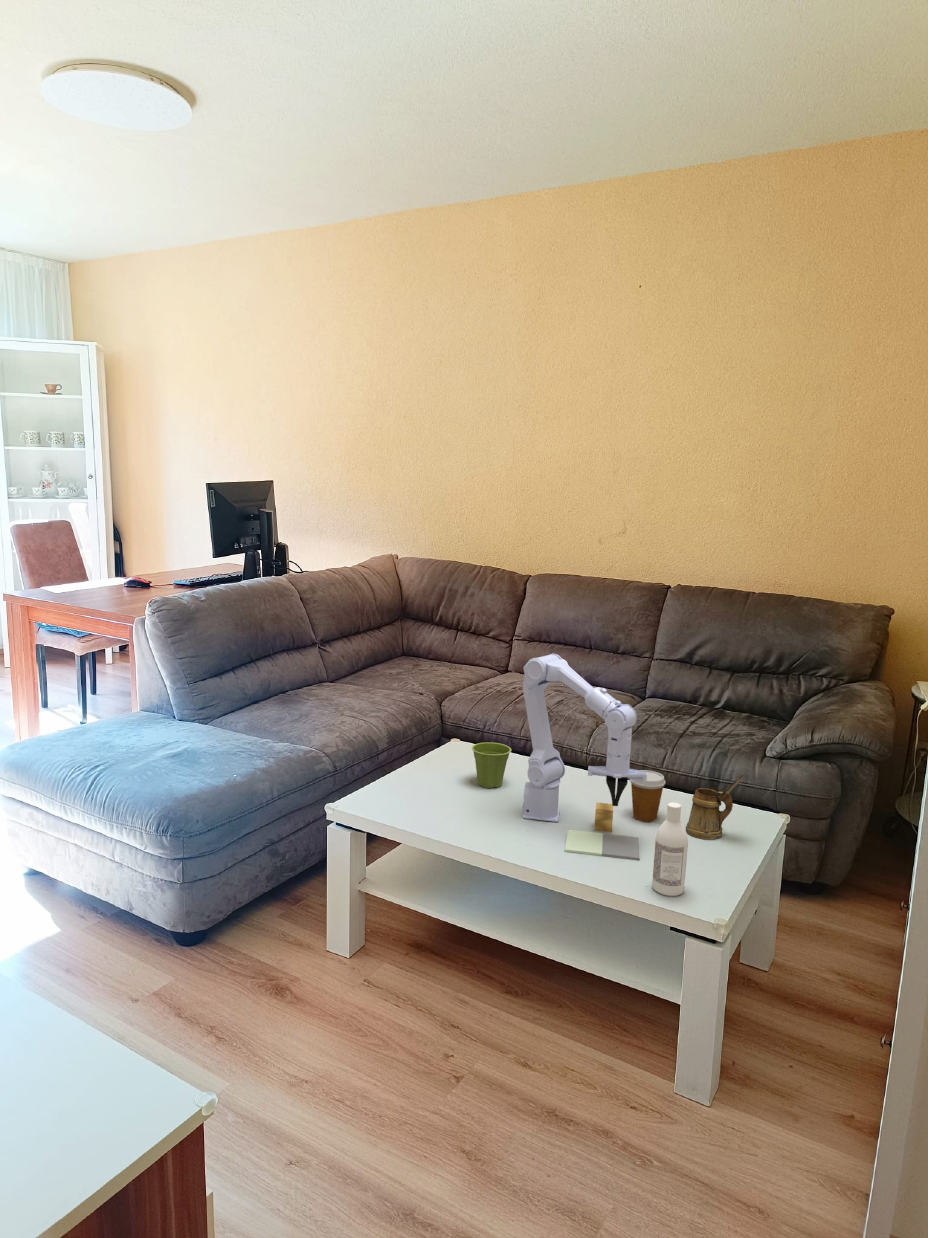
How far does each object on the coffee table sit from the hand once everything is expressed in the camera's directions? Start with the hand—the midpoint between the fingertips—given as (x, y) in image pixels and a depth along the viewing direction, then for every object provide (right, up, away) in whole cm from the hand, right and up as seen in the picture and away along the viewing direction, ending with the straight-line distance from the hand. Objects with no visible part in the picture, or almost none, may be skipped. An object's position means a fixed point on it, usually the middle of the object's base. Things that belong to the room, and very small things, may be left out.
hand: (615, 804), depth 203 cm
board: (-4, -10, -2) cm, 11 cm away
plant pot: (-31, -3, +37) cm, 48 cm away
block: (-2, -8, +8) cm, 12 cm away
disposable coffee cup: (+11, -7, +16) cm, 21 cm away
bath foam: (+7, -14, -23) cm, 28 cm away
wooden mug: (+26, -10, +6) cm, 29 cm away
